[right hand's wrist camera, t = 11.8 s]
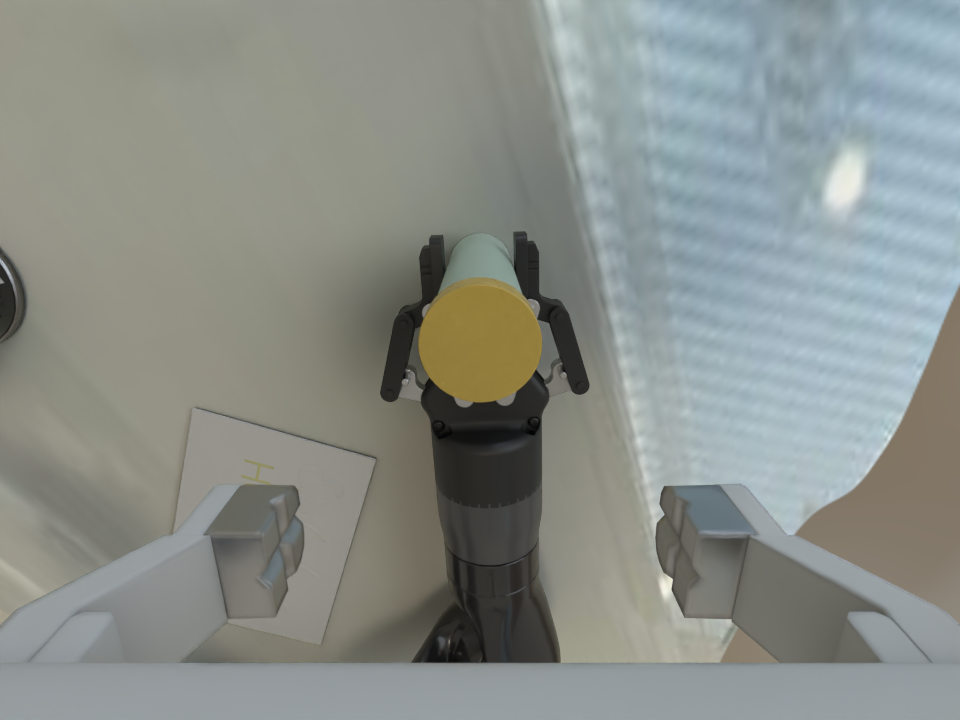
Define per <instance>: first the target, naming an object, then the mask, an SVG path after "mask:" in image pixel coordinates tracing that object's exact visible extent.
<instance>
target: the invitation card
mask: <svg viewBox="0 0 960 720" xmlns="http://www.w3.org/2000/svg"><path fill="white" fill-rule="evenodd" d="M375 462H376V459H375V458H371V457H368V456H364V455H361V454H357V453H353V452H350V451H346V450H343V449H339V448H336V447H332V446H329V445H325V444H322V443H318V442H314V441H311V440H307V439H304V438H300V437H297V436H293V435H290V434H286V433H283V432H279V431H275V430H272V429H268V428H265V427H261V426H258V425H254V424H251V423H247V422H244V421H240V420H236V419H233V418H229V417H226V416H222V415H219V414H215V413H212V412H208V411H204V410H201V409H197V408H193V409H192V415H191V421H190V427H189V434H188V440H187V446H186V453H185V459H184V466H183V472H182V478H181V485H180V491H179V497H178V504H177V510H176V516H175V523H174V529H173V534H174V533H175V532H176V530H177V529H178V528H179V527H180V526H181V524H182V523H183V522H184V521H185V520H186V519H187V517H188V516H189V515H190V514H191V513H192V511H193V510H194V509H195V508H196V507H197V506H198V504H199V503H200V502H201V501H202V500H203V498H204V497H205V496H206V495H207V494H208V493H209V491H210V490H211V489H212V488H213V487H214V486H216V485H219V484H243V485H245V484H256V485H294V486H295V487H296V488H297V489H298V493H299V498H300V506H299V508H298V510H297V512H296V514H295V515H296V516H297V517H298V518H299V519H300V520H301V522H302V523H303V526H304V550H303V555H302V560H301V563H300V565H299V567H298V570H297V572H296V573H295V574H293V575H292V576H291V577H289V578H288V579H287V584H288V592H287V594H286V596H285V598H284V601H283V603H282V605H281V607H280V609H279V611H278V614H277V616H276V618H251V619H228V622H227V623H228V624H232V625H237V626H241V627H245V628H249V629H253V630H257V631H261V632H266V633H270V634H274V635H278V636H282V637H286V638H291V639H295V640H299V641H303V642H307V643H311V644H316V645H320V646H321V643H322V640H323V636H324V633H325V629H326V626H327V623H328V619H329V616H330V613H331V609H332V606H333V603H334V599H335V596H336V593H337V589H338V586H339V583H340V579H341V576H342V573H343V569H344V566H345V562H346V559H347V556H348V552H349V549H350V546H351V542H352V539H353V536H354V532H355V529H356V526H357V522H358V519H359V516H360V512H361V509H362V506H363V502H364V499H365V496H366V492H367V489H368V485H369V482H370V479H371V475H372V472H373V469H374V465H375Z"/></svg>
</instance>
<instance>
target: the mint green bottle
mask: <svg viewBox="0 0 960 720" xmlns="http://www.w3.org/2000/svg"><path fill="white" fill-rule="evenodd" d="M474 277H487V278H493V279H497V280H500V281H503V282H505V283H507V284H509V285H511V286H512V287H514V288H515V289H517V290H518V291H519V292H520V293H521V294H522V292H521V289H520V286H519V283H518V280H517V277H516V274H515V271H514V268H513V265H512V262H511V259H510V256H509V253H508V251H507V249H506V247H505V246H504V244H503V243H502V242H501V241H500V240H499V239H497V238H496V237H494V236H492V235H489V234H485V233H476V234H471V235H469V236H466V237H465V238H463V239H462V240H460V241H459V242H458V243H457V245H456V246H455V248H454V249H453V251H452V254H451V257H450V260H449V263H448V266H447V269H446V272H445V275H444V278H443V281H442V284H441V287H440V290H439V293H440V292H441V291H442V290H444V289H445V288H446V287H448V286H450V285H451V284H453V283H455V282H458V281H460V280H464V279H467V278H474ZM439 293H438V294H439Z"/></svg>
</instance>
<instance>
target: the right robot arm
mask: <svg viewBox="0 0 960 720" xmlns="http://www.w3.org/2000/svg"><path fill="white" fill-rule="evenodd" d="M299 506H300V498H299V493H298V489H297V488H296V487H295V486H294V485H256V484H245V485H243V484H219V485H216V486H214V487H213V488H212V489H211V490H210V491H209V493H208V494H207V495H206V496H205V497H204V498H203V500H202V501H201V502H200V503H199V504H198V506H197V507H196V508H195V509H194V510H193V511H192V513H191V514H190V515H189V516H188V517H187V519H186V520H185V521H184V522H183V523H182V524H181V526H180V527H179V528H178V529H177V530H176V532H175V533H174V534H173V535H164V536H162V537H160V538H158V539H156V540H154V541H152V542H150V543H148V544H146V545H144V546H142V547H140V548H138V549H136V550H134V551H132V552H130V553H128V554H126V555H124V556H122V557H120V558H118V559H116V560H114V561H112V562H110V563H108V564H106V565H104V566H102V567H100V568H98V569H96V570H94V571H92V572H90V573H88V574H86V575H84V576H82V577H80V578H78V579H76V580H74V581H72V582H70V583H68V584H66V585H64V586H62V587H60V588H58V589H56V590H54V591H52V592H50V593H48V594H46V595H44V596H42V597H40V598H38V599H36V600H34V601H32V602H30V603H28V604H26V605H25V606H23V607H21V608H19V609H17V610H16V611H15V612H14V613H13V614H11V615H10V616H9V617H8V618H7V619H6V620H5V621H4V622H3V623H2V624H1V625H0V720H960V625H959V624H958V623H957V622H956V621H955V620H954V619H953V618H952V617H951V616H950V615H949V614H948V613H947V612H946V611H945V610H943V609H941V608H939V607H937V606H935V605H933V604H931V603H929V602H927V601H925V600H923V599H921V598H919V597H917V596H915V595H913V594H911V593H909V592H907V591H905V590H903V589H901V588H899V587H897V586H895V585H893V584H891V583H889V582H887V581H885V580H884V579H882V578H879V577H878V576H875V575H874V574H872V573H870V572H868V571H866V570H864V569H862V568H860V567H858V566H856V565H854V564H852V563H850V562H848V561H846V560H844V559H842V558H840V557H838V556H836V555H834V554H832V553H830V552H828V551H826V550H824V549H822V548H820V547H818V546H816V545H814V544H812V543H810V542H808V541H806V540H804V539H802V538H800V537H798V536H796V535H787V534H786V533H785V532H784V530H783V529H782V528H781V527H780V526H779V524H778V523H777V522H776V521H775V520H774V519H773V517H772V516H771V515H770V514H769V513H768V512H767V510H766V509H765V508H764V507H763V506H762V504H761V503H760V502H759V501H758V500H757V499H756V497H755V496H754V495H753V494H752V493H751V491H750V490H749V489H748V488H747V487H746V486H744V485H742V484H720V485H691V486H664V488H663V490H662V492H661V498H660V506H661V508H662V510H663V512H664V514H665V515H664V516H663V517H662V518H661V519H660V520H659V522H658V523H657V527H656V537H655V539H656V551H657V555H658V559H659V563H660V565H661V567H662V570H663V572H664V573H665V574H667V575H668V576H669V577H671V578H672V579H673V584H672V592H673V594H674V596H675V598H676V600H677V603H678V605H679V607H680V609H681V611H682V613H683V616H684V618H708V619H732V622H733V623H734V624H735V625H737V626H738V627H739V628H740V629H741V630H742V631H744V632H745V633H746V634H747V635H748V636H749V637H751V638H752V639H753V640H754V641H755V642H756V643H758V644H759V645H760V646H761V647H762V648H763V649H765V650H766V651H767V652H768V653H769V654H770V655H771V656H773V657H774V658H775V659H776V660H777V661H778V662H780V663H181V662H182V661H183V660H184V659H185V658H186V657H188V656H189V655H190V654H191V653H192V652H193V651H195V650H196V649H197V648H198V647H199V646H200V645H202V644H203V643H204V642H205V641H206V640H207V639H209V638H210V637H211V636H212V635H213V634H214V633H216V632H217V631H218V630H219V629H220V628H221V627H223V626H224V625H225V624H226V623H227V622H228V619H251V618H276V616H277V614H278V611H279V609H280V607H281V605H282V603H283V601H284V598H285V596H286V594H287V592H288V584H287V579H288V578H289V577H291V576H292V575H293V574H295V573H296V572H297V570H298V567H299V565H300V563H301V560H302V555H303V550H304V526H303V523H302V522H301V520H300V519H299V518H298V517H297V516H296V515H295V514H296V512H297V510H298V508H299Z"/></svg>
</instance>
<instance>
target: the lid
mask: <svg viewBox="0 0 960 720" xmlns="http://www.w3.org/2000/svg"><path fill="white" fill-rule="evenodd" d="M418 350H419V355H420V359H421V362H422V365H423V367H424V369H425V371H426V373H427V374H428V376H429V377H430V379H431V380H432V381H433V382H434V383H435V384H436V385H437V386H438V387H439V388H440V389H442V390H443V391H444V392H446V393H447V394H449V395H451V396H453V397H456V398H458V399H461V400H465V401H469V402H491V401H496V400H499V399H502V398H505V397H507V396H509V395H511V394H513V393H514V392H516V391H517V390H519V389H520V388H521V387H522V386H524V385H525V384H526V383H527V381H528V380H529V379H530V378H531V376H532V375H533V373H534V372H535V370H536V368H537V366H538V363H539V360H540V357H541V352H542V335H541V330H540V326H539V324H538V321H537V318H536V316H535V313H534V311H533V309H532V307H531V305H530V303H529V302H528V301H527V299H526V298H525V297H524V296H523V295H522V294H521V293H520V292H519V291H518V290H517V289H515V288H514V287H512V286H511V285H509V284H507V283H505V282H503V281H500V280H497V279H493V278H487V277H474V278H467V279H464V280H460V281H458V282H455V283H453V284H451V285H450V286H448V287H446V288H445V289H444V290H442V291H441V292H440V293H439V294H438V295H437V296H436V297H435V298H434V300H433V301H432V302H431V304H430V306H429V307H428V309H427V312H426V314H425V317H424V319H423V322H422V325H421V328H420V332H419V339H418Z"/></svg>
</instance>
